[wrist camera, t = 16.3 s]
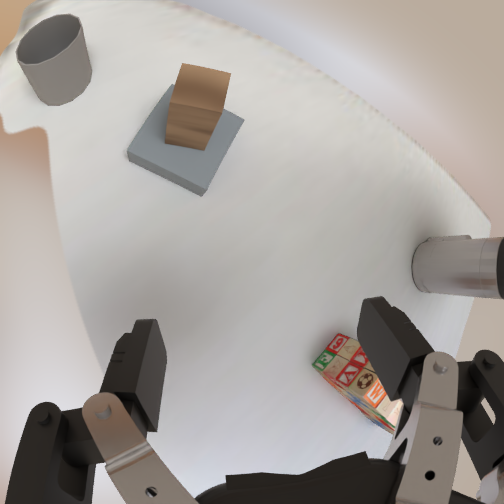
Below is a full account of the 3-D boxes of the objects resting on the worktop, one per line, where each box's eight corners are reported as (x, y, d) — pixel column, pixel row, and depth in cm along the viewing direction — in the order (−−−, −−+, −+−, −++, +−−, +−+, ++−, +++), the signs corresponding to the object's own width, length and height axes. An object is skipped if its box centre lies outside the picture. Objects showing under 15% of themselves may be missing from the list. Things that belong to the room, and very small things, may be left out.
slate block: (169, 99, 33) (172, 83, 30) (235, 132, 36) (244, 119, 32) (129, 162, 32) (126, 150, 28) (201, 197, 35) (206, 189, 31)
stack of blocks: (394, 397, 44) (443, 419, 33) (374, 423, 43) (420, 451, 31) (337, 332, 40) (397, 353, 28) (309, 365, 39) (363, 397, 27)
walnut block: (173, 109, 30) (182, 63, 21) (211, 116, 31) (231, 73, 23) (164, 143, 29) (169, 102, 21) (204, 150, 31) (222, 112, 22)
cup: (60, 54, 27) (46, 11, 18) (102, 64, 30) (95, 17, 20) (28, 99, 26) (3, 61, 17) (70, 112, 29) (50, 70, 19)
